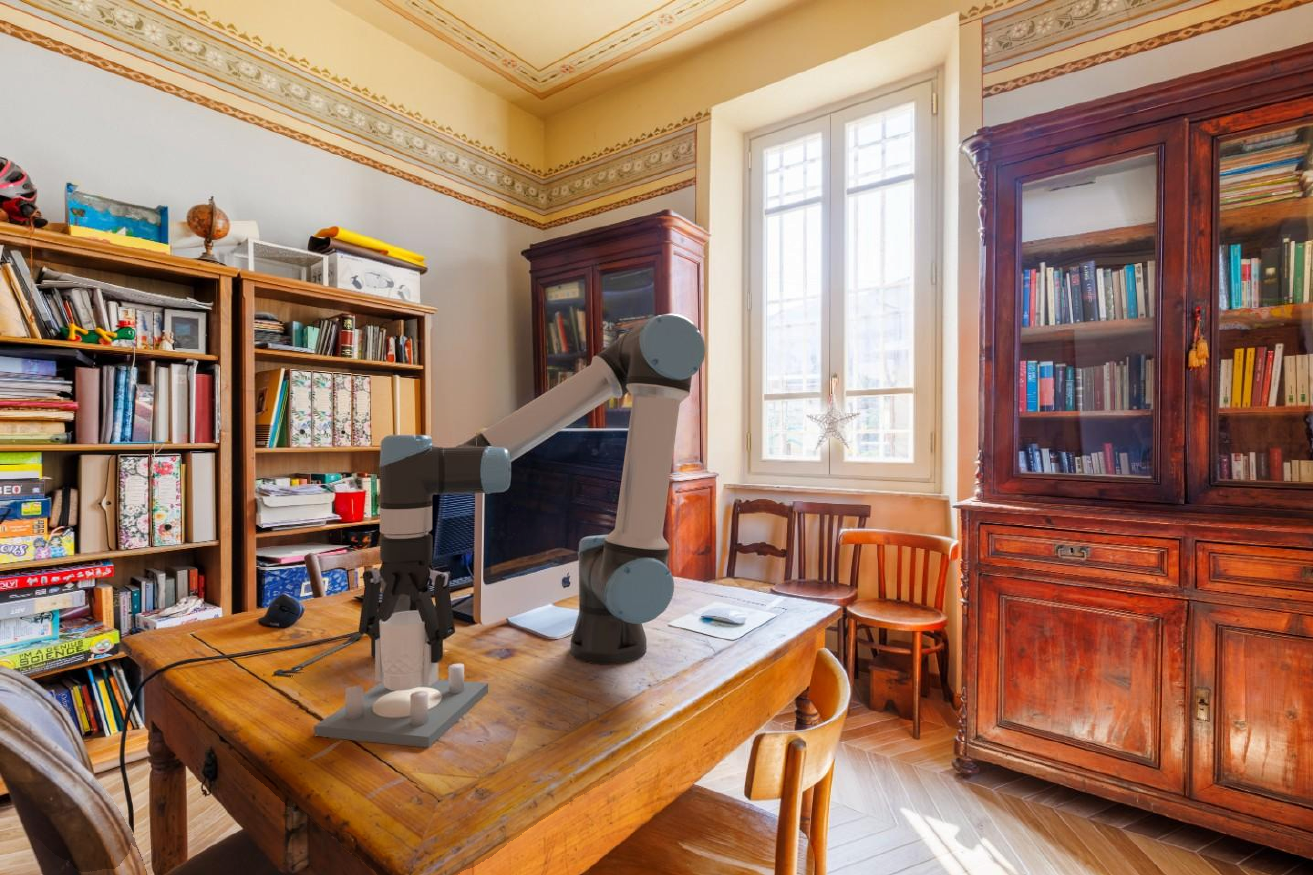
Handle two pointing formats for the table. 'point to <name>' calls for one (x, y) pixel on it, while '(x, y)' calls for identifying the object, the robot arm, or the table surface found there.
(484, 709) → the table surface
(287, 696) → the table surface
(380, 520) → the robot arm
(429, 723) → the peg stand
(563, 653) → the table surface
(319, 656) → the tactical tomahawk
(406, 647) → the white cup
